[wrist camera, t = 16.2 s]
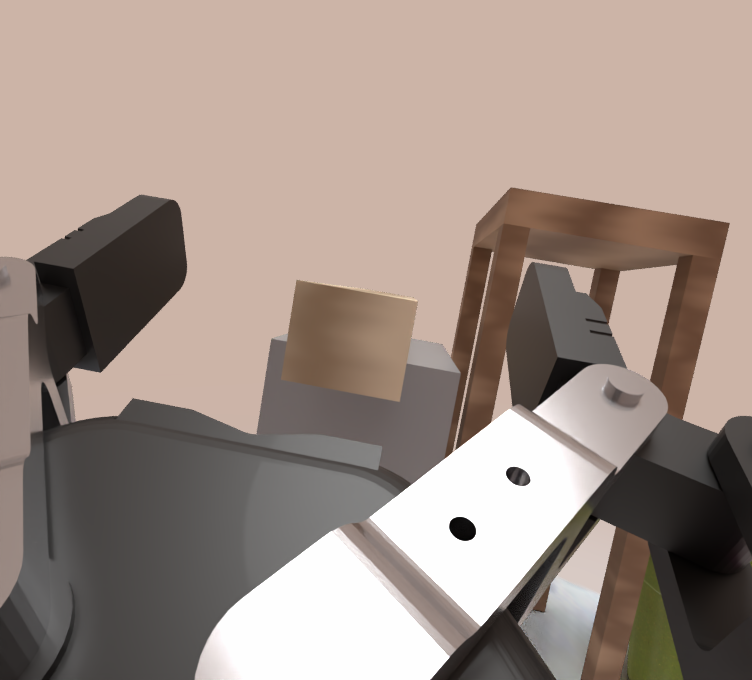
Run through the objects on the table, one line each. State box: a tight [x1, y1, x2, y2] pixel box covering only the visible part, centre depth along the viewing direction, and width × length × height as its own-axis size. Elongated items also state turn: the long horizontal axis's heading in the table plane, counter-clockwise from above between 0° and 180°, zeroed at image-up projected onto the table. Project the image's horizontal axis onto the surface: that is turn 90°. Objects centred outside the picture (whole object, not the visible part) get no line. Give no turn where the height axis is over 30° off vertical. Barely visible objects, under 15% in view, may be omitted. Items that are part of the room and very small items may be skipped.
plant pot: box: [627, 554, 752, 680], centre depth 36 cm, size 12×12×11 cm
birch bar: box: [281, 280, 418, 402], centre depth 27 cm, size 4×24×3 cm, turn 176°
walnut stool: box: [444, 188, 729, 680], centre depth 37 cm, size 12×15×32 cm
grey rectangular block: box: [257, 334, 461, 484], centre depth 32 cm, size 9×14×22 cm, turn 176°
